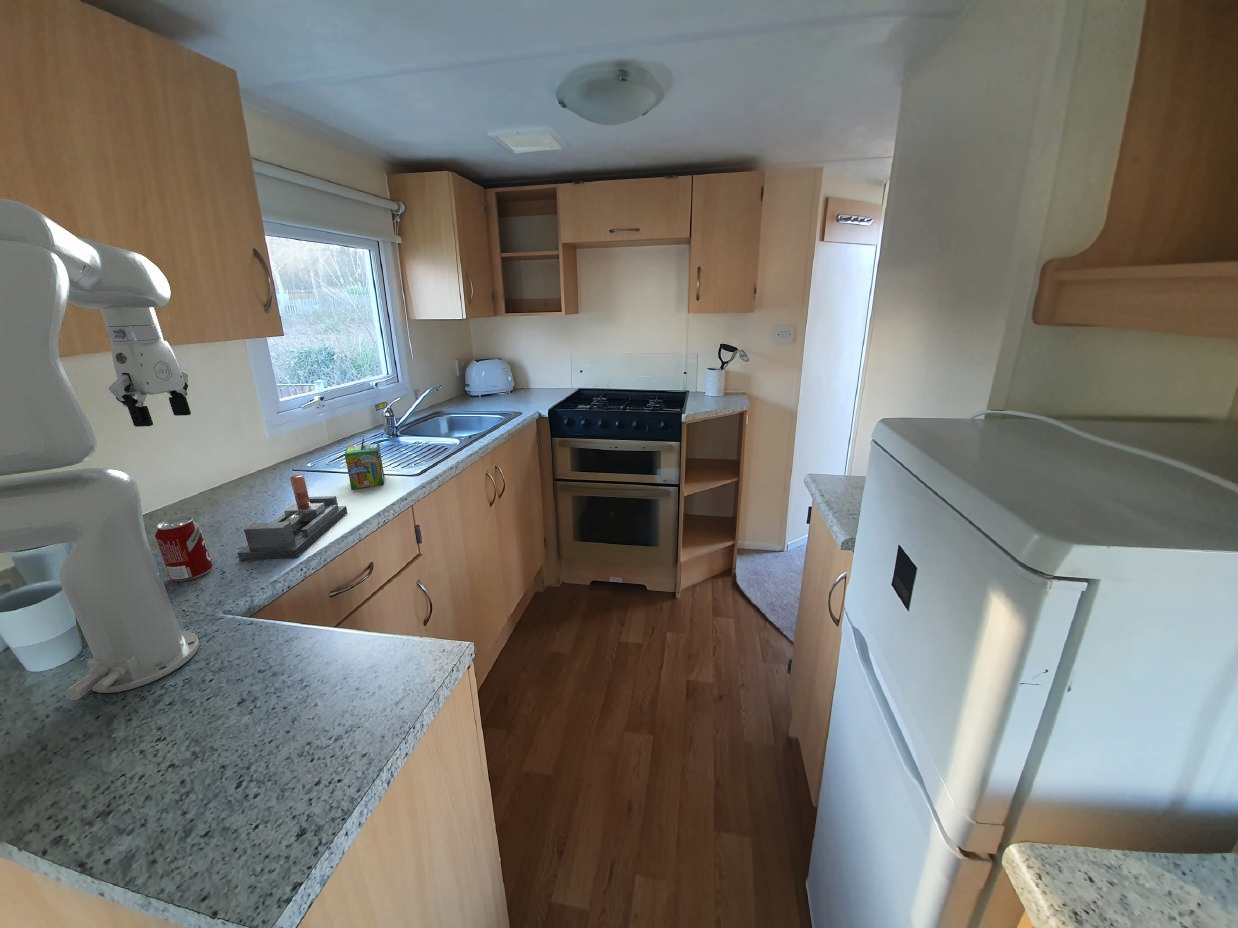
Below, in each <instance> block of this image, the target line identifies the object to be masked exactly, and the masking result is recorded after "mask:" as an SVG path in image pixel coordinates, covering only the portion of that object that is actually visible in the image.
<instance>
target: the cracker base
mask: <svg viewBox="0 0 1238 928" xmlns="http://www.w3.org/2000/svg"><path fill="white" fill-rule="evenodd" d="M309 500H310V504H313V503H324V505H325V511H324V512H322V513H321V514H320V515H319V516H317V517H316V518H315V519H314V520H313V521H301V522H300V523H299V524H297V525H296V526H295V527H293V528H292V526H291V522H284V521H285V520H286V517H285V513H283V514H282V515H281V516H280V517H278V518H277V519H275V520H274V521H273V522H257V523H256V522H255V523H251V524H249V525H248V526H246V527H245V528H244V529H243V532H244V534H245V535H244V536H245V539H246V542H247V545H245V546H244V547H243V548H242V549H241V550H239V551H237V557H238V560H239V562H246V561H247V562H249V561H265V560H266V561H267V560H286V559H287V560H289V559H298V558H299V557H301V555H302V554H303V553H305V552H306V550H308V549H309V548H311V546H313V544H314V543H316V542H317V541H318V540H319V539H320V538H321V537H322V536H323V535H325V534H326V533H327V532H328V531H329V530H330V529H331V528H333V527H334V526H335V525H336V524H337V523H338V522H339V521H340V520H342V518H344V517H345V516H346V515H347V514H348V509H347V508H348V507H347V505H340V506H339V503H338V498H337V495H327V496H326V495H323V496H309ZM343 516H344V517H343Z"/></svg>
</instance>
